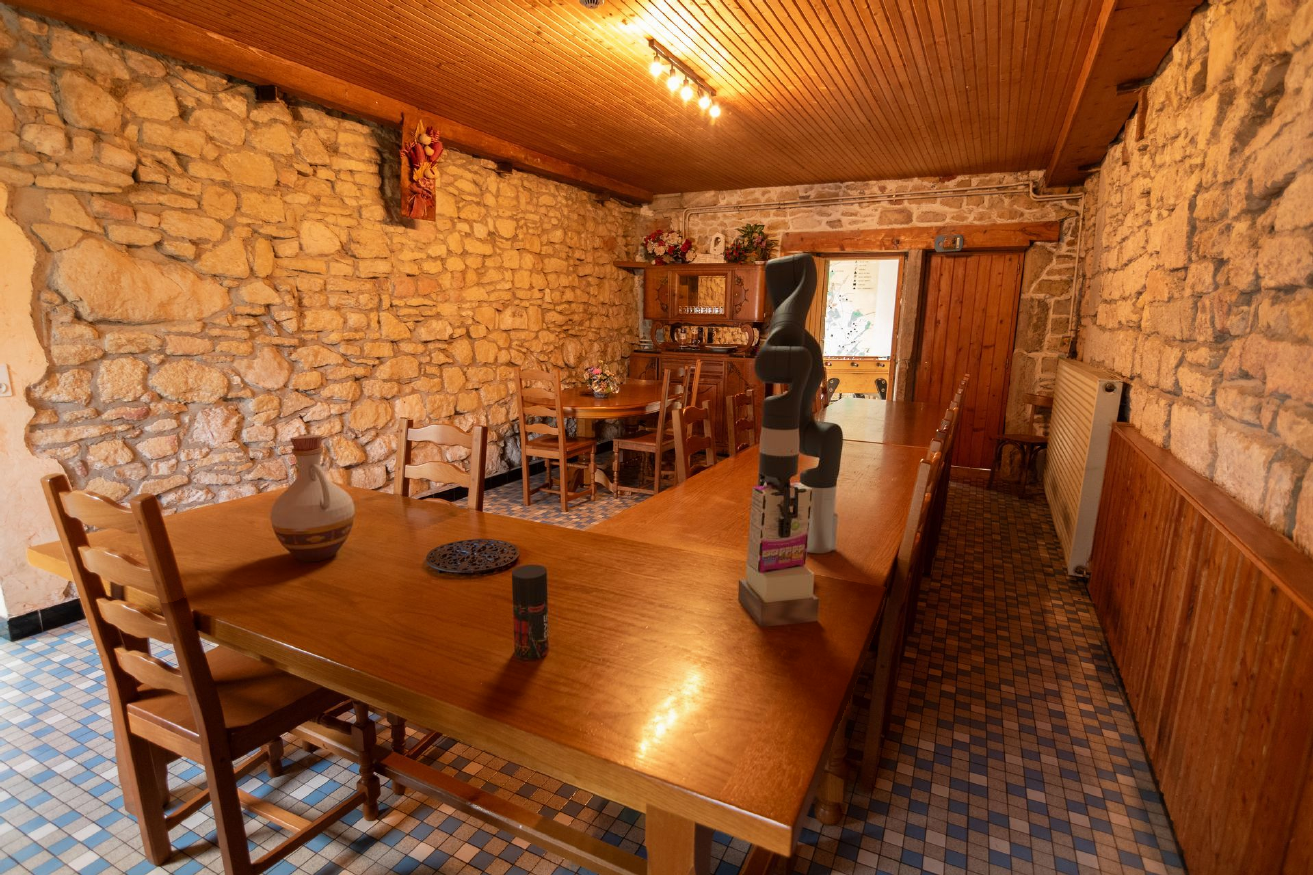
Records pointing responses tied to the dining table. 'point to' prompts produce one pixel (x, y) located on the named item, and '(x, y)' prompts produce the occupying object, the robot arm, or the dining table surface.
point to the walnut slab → (777, 608)
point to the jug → (312, 507)
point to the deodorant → (530, 612)
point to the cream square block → (781, 583)
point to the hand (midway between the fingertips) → (775, 529)
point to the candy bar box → (764, 526)
